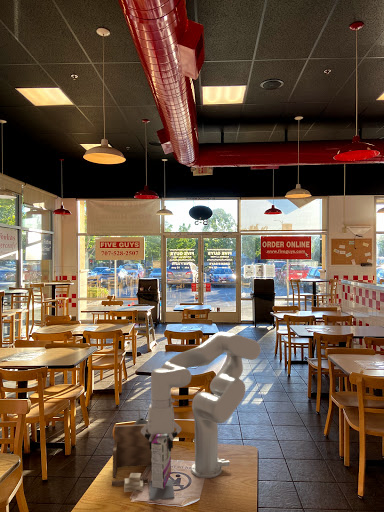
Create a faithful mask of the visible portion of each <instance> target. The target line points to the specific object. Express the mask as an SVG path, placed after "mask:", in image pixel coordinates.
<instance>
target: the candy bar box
mask: <svg viewBox="0 0 384 512" xmlns="http://www.w3.org/2000/svg"><path fill="white" fill-rule="evenodd" d="M171 474H172V450H171V451H169V435H168V434H157V435H156V437H155V438H154V440H153V441H152V443H151V481H152V488H161V489H164V487H165V485H166V483H167V481H168V479H169V478H170V476H171Z"/></svg>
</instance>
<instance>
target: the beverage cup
mask: <svg viewBox="0 0 384 512" xmlns="http://www.w3.org/2000/svg"><path fill="white" fill-rule="evenodd" d="M137 410H138V419H137V420H136V421H135V422H134V424H133V425H140V424H147V423H148V419H146V418H142V417H141V412H140V408H138V409H137Z"/></svg>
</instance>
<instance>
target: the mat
mask: <svg viewBox="0 0 384 512" xmlns="http://www.w3.org/2000/svg"><path fill="white" fill-rule="evenodd" d="M148 484H149V487H148V488H149V489H150V490H149V501H158V500H159V499H162V500H173V499H175V491H174V490H175V488H174V482H173V479H172V478H170V479H168V481H167V483H166V485H165V487H164V489H161V488H152V480H148ZM159 501H160V500H159Z"/></svg>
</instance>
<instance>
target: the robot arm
mask: <svg viewBox="0 0 384 512" xmlns="http://www.w3.org/2000/svg"><path fill="white" fill-rule="evenodd" d="M261 350H262V349H261V346H260V344H259V342H258V341H257V340H255V339H252V338H248V337H245V336H242V335H239V334H236V333H232V332H227V331H218V332H216V333H214V334H213V335H211V336H210V337H209V338H207V339H206V340H204V341H203V342H202V343H201V344H199V345H198V346H197V347H195V348H191V349H188V350H186V351H182V352H180V353H178V354H176V355H173V356H172V357H171V358H170V359H168V360H166V361H165V363H163V364H162V365H161V367H159V368H154V369H152V370H151V374H150V390H151V391H150V400H151V401H150V404H149V406H148V411H147V412H148V413H147V422H148V423H147V424H146V425H145V426H144V427H143V428H142V429H141V433H142V434H143V435H144V436H145V437H146V438H147V439H148V440H149V442H150V449H151V443H152V441H153V437H154V434H168V435H169V451H171V452H172V449H173V448H174V439H175V438H176V437H177V436H178V434H180V432H182V427H181V426H180V425H179V424H178V423H177V422H176V421H175V411H174V410H175V409H174V404H173V403H176V402H175V401H176V399H175V398H173V397H172V388H183V387H186V386H188V385H189V384H190V383H191V380H192V373H191V371H190V370H189V368H195V367H203V366H208V365H210V364H211V363H212V362H214V361H215V360H216V359H217V358H218V357H220V356H222V354H224V353H226V359H225V363H224V365H223V366H222V367H221V368H220V370H219V371H218V372H217V374H216V375H215V376H214V377H213V378H212V380H211V381H210V385H209V388H210V392H211V393H210V392H206V391H200V392H197V394H195V395H194V397H193V399H192V401H191V402H192V404H191V408H192V409H191V410H192V413H193V414H192V415H193V420H194V463H193V464H192V465H191V468H190V470H191V473H192V474H193V475H195V476H196V477H199V478H202V479H213V478H215V477H218V476H219V475H221V474H222V471H223V470H222V469H223V467H230V461H229V460H226V459H225V458H221V459H220V458H219V445H218V443H219V442H218V441H219V439H218V438H219V435H218V434H219V433H218V432H219V431H218V430H219V428H218V424H224V423H226V422H227V421H228V420H229V419H230V418H231V416H232V415H233V413H235V411H236V410H237V408H238V406H239V405H240V404H241V402H242V401H243V400H244V397H245V394H246V384H245V382H244V381H243V380H242V379H240V378H241V376H242V375H243V374H242V373H243V370H244V364H243V359H245V360H249V361H253V360H256V359H258V357H259V356H260V354H261ZM147 429H148V433H149V434H150V435H149V434H148V433H147V432H146V430H147ZM175 429H176V430H175Z"/></svg>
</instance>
